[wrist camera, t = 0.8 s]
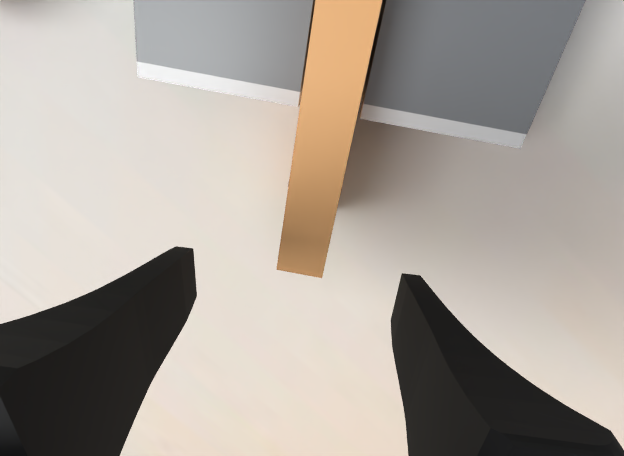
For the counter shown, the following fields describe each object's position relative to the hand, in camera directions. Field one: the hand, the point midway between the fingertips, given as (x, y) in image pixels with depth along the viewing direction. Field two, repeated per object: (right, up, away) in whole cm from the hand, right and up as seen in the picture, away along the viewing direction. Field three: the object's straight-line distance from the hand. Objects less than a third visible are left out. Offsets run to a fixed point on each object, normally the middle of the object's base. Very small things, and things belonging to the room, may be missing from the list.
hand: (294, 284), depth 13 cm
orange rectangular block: (+2, +8, +7) cm, 10 cm away
